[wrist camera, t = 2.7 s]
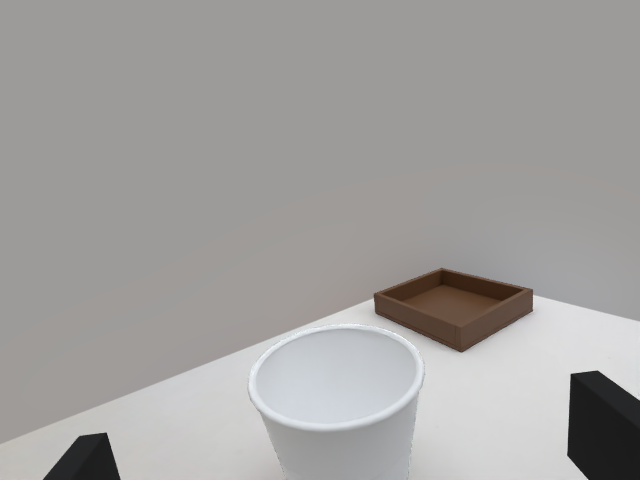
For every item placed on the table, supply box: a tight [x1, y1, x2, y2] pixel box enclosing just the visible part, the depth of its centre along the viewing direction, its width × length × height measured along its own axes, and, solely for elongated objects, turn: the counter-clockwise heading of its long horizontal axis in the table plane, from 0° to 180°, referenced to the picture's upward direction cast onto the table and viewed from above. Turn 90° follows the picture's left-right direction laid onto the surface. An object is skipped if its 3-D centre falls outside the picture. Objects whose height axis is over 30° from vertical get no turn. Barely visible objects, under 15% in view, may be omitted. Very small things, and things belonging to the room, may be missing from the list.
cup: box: [248, 324, 425, 480], centre depth 21 cm, size 10×10×11 cm
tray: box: [374, 268, 533, 352], centre depth 48 cm, size 14×14×3 cm
